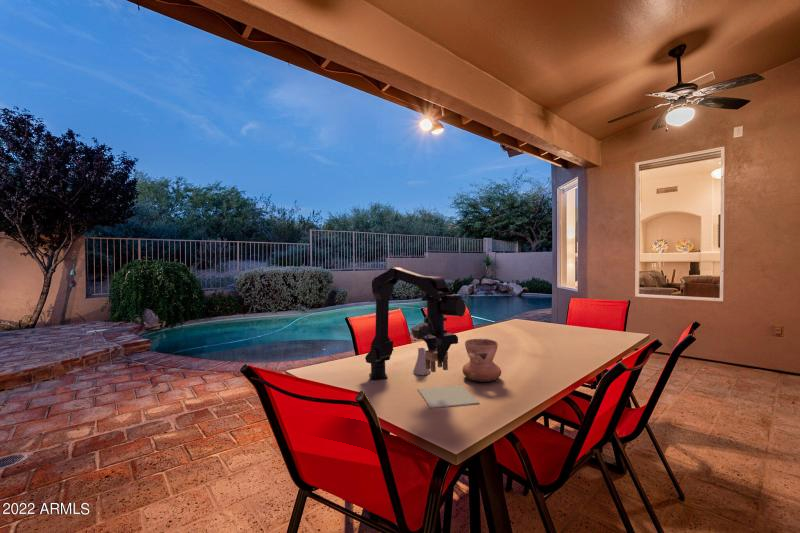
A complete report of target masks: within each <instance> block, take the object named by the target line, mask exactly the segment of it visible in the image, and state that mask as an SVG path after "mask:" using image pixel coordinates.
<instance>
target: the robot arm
mask: <svg viewBox="0 0 800 533" xmlns="http://www.w3.org/2000/svg"><path fill="white" fill-rule="evenodd" d="M399 281H401V282H403V283H407V284H410V285H413V286H415V287H417V288H418V289H419V290H420V291H421V292H423V293H425V294H424V296H423V297H422V298H421V301H424V302H426V316H425V317H424V319H423V322H422V323H421V322H420V323H419V324H416V325H415V326H412V327H411V328H410V330H411V334H412V336H413V338H414V339H416V340H422V341H424V343H425V344H426V346H427V349H428V350H434V349H437V353H438V360H439V363H442V364H443V360H444V358H445V355H446V353H447V352H448V350H450V347H451V345H456V344H459V336H457V335H456V333H455V334H454V333H451V332H448V330H447V329H445V322H446V321H447V317H446V316H448V317H449V316H450V317H459V318H461V317H463V316H464V315H465V314H466V309H467V306H466V303H465V300H464V299H463V296H462V295H461V294H455V295H453V293H452V291H451V290H450V288H449V287H448V285H447V283H446V280H445V278H444V277H442V276H432V275H431V276H429V275H422V274H420V273H417V272H414V271H410V270H408V269H405V268H402V267H401V266H400V267H396V266H394V267H391V268H389V269H388V270H387V271H385V272H383V273H381V274H379V275H378V276H375V277H374V278H373V279H372V280H371V289H372V290H371V291H372V295H373V296H374V299H375V332H374V333H375V334H374V338H373V340H372V341H371V343H370V344H371V345H370V350H369V351H368V353H367V354H366V356H365V358H364V359H365V362H366V363H368V364H370V373H368V374H369V377H370V380H372V381H373V380H383V379H384V380H385V379H388V375H387V373H386V362H387V361H389V360H390V359H391V356H392V355H393V352H394V340H391V338H390V337H389V316H390V315H389V310H390V307H389V305H390V304H389V303H390V298H391V297H392V294H393V293H394V287H395V286H396V285H397V284H398V283H399Z"/></svg>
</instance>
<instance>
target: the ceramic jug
mask: <svg viewBox="0 0 800 533" xmlns="http://www.w3.org/2000/svg"><path fill="white" fill-rule="evenodd" d="M464 345H465V350H466V353H467V356H468V358H469V361H468V362H465V364H464V365H463V366H462V370H461V371H462V374H463V375H464V377H466V378H467V379H469V380H471V381H474V382H478V383H479V382H481V383H489V382H492V381H496V380H498V379H499V378H501V375H502V370H501V367H500V366H499V365H497V363H495V362H494V358H495V355H496V353H497V352H498V351H497V350H498V347H499V346H498V345H499V344H498V342H497V341H496V340H493V339H489V338H470V339H466V340H465V341H464Z"/></svg>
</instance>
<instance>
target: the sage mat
mask: <svg viewBox="0 0 800 533" xmlns="http://www.w3.org/2000/svg"><path fill="white" fill-rule="evenodd" d="M417 391H418V392H419V394H420V395H421V396H422V398H423V400H424V401H425V404H427V406H428V407H429V409H440V408H450V407H457V406H459V407H460V406H471V405H480V402H479V400H477V398H475V397H474V395H472V394H471V393H470V391H468V390H467V389H466V388H465V387H463V385H462V384H456V385H444V386H434V387H423V388H422V387H420V388H417Z"/></svg>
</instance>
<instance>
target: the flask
mask: <svg viewBox="0 0 800 533" xmlns="http://www.w3.org/2000/svg"><path fill="white" fill-rule="evenodd" d="M417 351H418V352H417V354H418V355H417V359H416V362H415V365H414V368H413V371H412V372H413V374H414V375H417V376H418V375H419V376H426V375H429V374H431V373H432V372H431V369H426V359H425V351H426V348H425V347H417Z"/></svg>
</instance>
